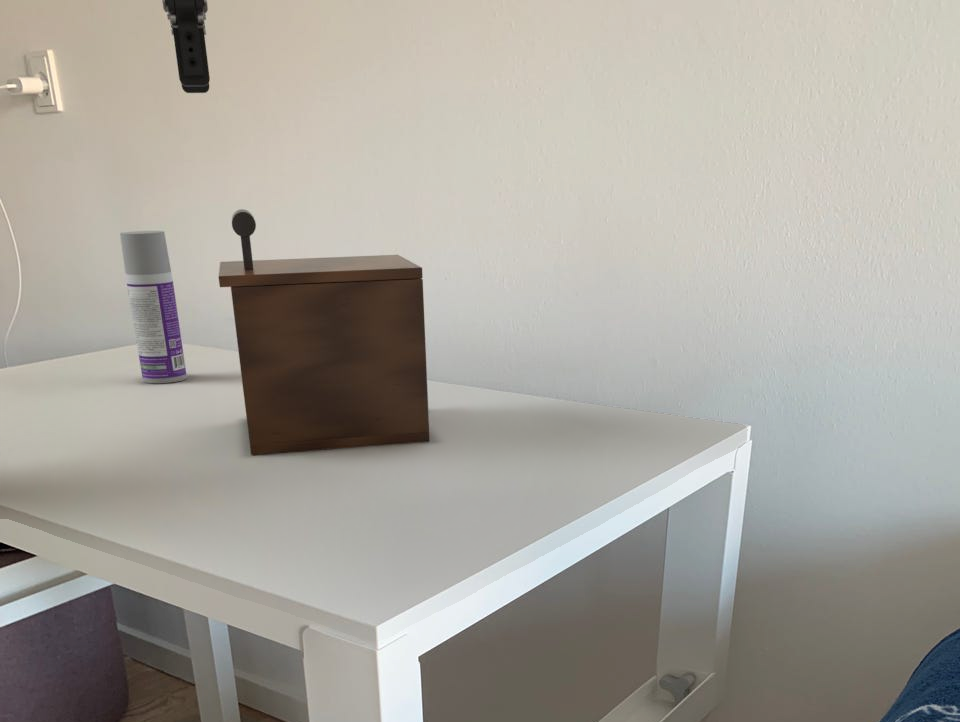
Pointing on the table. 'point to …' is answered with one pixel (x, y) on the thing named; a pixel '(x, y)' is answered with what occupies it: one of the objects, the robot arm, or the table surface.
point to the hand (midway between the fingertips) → (195, 89)
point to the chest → (332, 364)
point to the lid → (307, 265)
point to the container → (153, 306)
